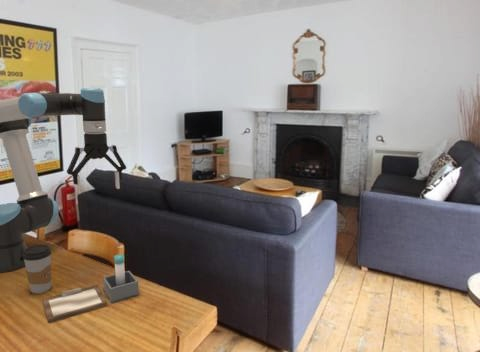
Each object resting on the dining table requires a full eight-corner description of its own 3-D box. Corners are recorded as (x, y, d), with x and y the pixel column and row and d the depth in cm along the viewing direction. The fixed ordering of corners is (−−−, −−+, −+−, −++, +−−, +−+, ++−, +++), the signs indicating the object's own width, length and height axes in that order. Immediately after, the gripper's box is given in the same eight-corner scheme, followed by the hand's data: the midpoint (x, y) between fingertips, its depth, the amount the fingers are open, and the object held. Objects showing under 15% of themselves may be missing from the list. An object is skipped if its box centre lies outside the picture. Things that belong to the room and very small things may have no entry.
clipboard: (42, 302, 118) (42, 296, 118) (97, 288, 128) (97, 282, 127) (48, 323, 108) (47, 317, 107) (107, 305, 117) (107, 300, 117)
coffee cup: (42, 297, 121) (38, 255, 118) (21, 294, 123) (16, 252, 120) (59, 284, 129) (56, 245, 126) (39, 281, 131) (35, 242, 128)
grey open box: (103, 290, 126) (102, 277, 125) (130, 283, 131) (129, 270, 130) (111, 303, 119) (110, 289, 117) (138, 294, 124) (138, 281, 123)
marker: (114, 290, 125) (112, 255, 122) (124, 288, 127) (122, 253, 124) (117, 294, 123) (115, 259, 120) (127, 292, 124) (125, 256, 121)
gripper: (58, 135, 119) (63, 197, 124) (133, 132, 133) (135, 188, 138) (54, 133, 125) (60, 192, 130) (126, 130, 139) (129, 184, 144)
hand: (99, 190), depth 134 cm, fingers open, 13 cm apart
